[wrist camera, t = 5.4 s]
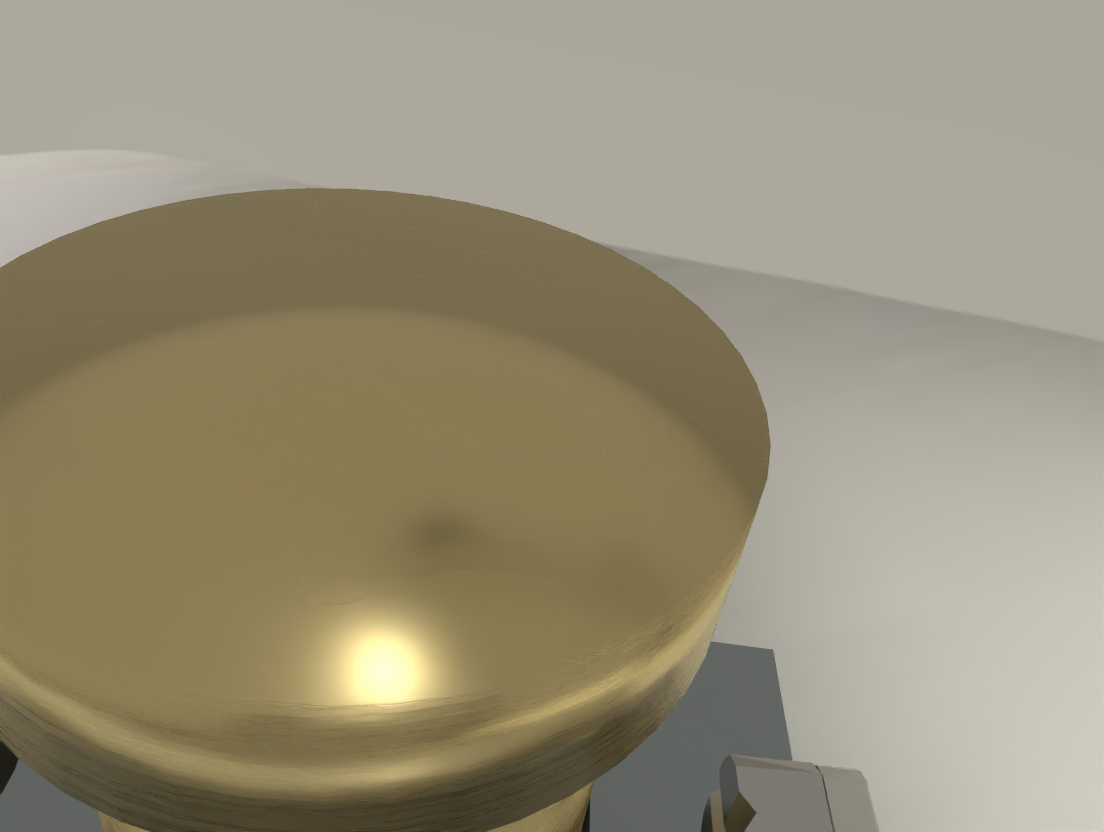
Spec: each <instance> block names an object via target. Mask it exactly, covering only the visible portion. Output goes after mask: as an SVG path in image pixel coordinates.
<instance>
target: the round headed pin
mask: <svg viewBox="0 0 1104 832" xmlns="http://www.w3.org/2000/svg"><path fill="white" fill-rule="evenodd" d="M769 455H770V437H769V429H768V420H767V413H766V410H765V407H764V404H763V401H762V398H761V395H760V392H759V389H758V386H757V384H756V382H755V380H754V378H753V376H752V374H751V373H750V371H749V369H748V367H747V365H746V363H745V362H744V360H743V358H742V356H741V355H740V353H739V352H738V351H737V350H736V348H735V347H734V346H733V344H732V343H731V342H730V340H729V339H728V338H727V336H726V335H725V334H724V333H723V331H722V330H721V329H720V328H719V327H718V326H717V325H716V324H715V323H714V322H713V321H712V320H711V319H710V318H709V317H708V316H707V315H706V314H705V313H704V312H703V311H702V310H701V309H700V308H699V307H698V306H697V305H695V304H694V303H693V302H692V301H690V300H689V299H688V298H687V297H685V296H684V295H683V294H682V293H680V292H679V291H678V290H677V289H675V288H674V287H673V286H671V285H670V284H668V283H667V282H665V281H664V280H662V279H661V278H659V277H658V276H656V275H655V274H653V273H651V272H650V271H648V270H647V269H645V268H644V267H642V266H640V265H638V264H637V263H635V262H633V261H631V260H629V259H627V258H625V257H624V256H622V255H620V254H618V253H616V252H614V251H612V250H610V249H608V248H606V247H604V246H601V245H599V244H597V243H595V242H592V241H590V240H588V239H586V238H583V237H581V236H579V235H576V234H573V233H571V232H568V231H565V230H562V229H559V228H557V227H554V226H551V225H549V224H546V223H543V222H540V221H536V220H533V219H530V218H526V217H523V216H520V215H516V214H513V213H509V212H506V211H501V210H497V209H492V208H489V207H484V206H480V205H475V204H470V203H466V202H461V201H455V200H449V199H443V198H437V197H432V196H423V195H415V194H407V193H397V192H388V191H374V190H357V189H286V190H265V191H255V192H245V193H234V194H224V195H218V196H212V197H205V198H199V199H193V200H186V201H181V202H176V203H172V204H167V205H163V206H158V207H154V208H149V209H145V210H140V211H137V212H133V213H130V214H127V215H123V216H120V217H116V218H113V219H109V220H106V221H103V222H99V223H97V224H94V225H91V226H89V227H86V228H83V229H81V230H78V231H75V232H73V233H70V234H67V235H65V236H62V237H59V238H57V239H55V240H53V241H51V242H49V243H47V244H44V245H42V246H40V247H38V248H36V249H34V250H32V251H30V252H27V253H25V254H23V255H21V256H19V257H18V258H16V259H14V260H13V261H11V262H9V263H8V264H6V265H4V266H3V267H1V268H0V740H1V741H2V742H3V743H4V744H5V745H6V746H7V747H8V748H9V749H10V750H11V751H12V752H13V753H14V754H15V755H16V757H17V758H18V759H19V760H20V761H22V762H23V763H24V764H26V765H27V766H28V767H30V768H31V769H32V770H34V771H35V772H37V773H38V774H39V775H41V776H42V777H43V778H45V779H46V780H47V781H49V782H50V783H52V784H53V785H54V786H56V787H57V788H58V789H60V790H61V791H62V792H64V793H65V794H67V795H69V796H71V797H73V798H75V799H77V800H79V801H81V802H83V803H84V804H86V805H88V806H90V807H92V808H94V809H96V810H97V811H98V814H99V818H100V821H101V825H102V829H103V832H581V828H582V824H583V821H584V817H585V814H586V810H587V806H588V803H589V799H590V795H591V792H592V788H593V785H594V781H595V780H596V779H597V778H599V777H600V776H602V775H603V774H605V773H606V772H608V771H609V770H611V769H612V768H614V767H615V766H617V765H618V764H619V763H620V762H622V761H623V760H624V759H625V758H626V757H627V756H628V755H629V754H630V753H632V752H633V751H634V750H635V749H636V748H637V747H638V746H639V745H640V744H641V743H643V742H644V741H645V740H646V739H647V738H648V737H649V736H650V735H651V734H653V733H654V732H655V731H656V730H657V729H658V727H659V726H660V725H661V724H662V722H663V721H664V720H665V719H666V717H667V716H668V715H669V714H670V712H671V711H672V710H673V709H674V707H675V706H676V705H677V704H678V702H679V701H680V700H681V699H682V697H683V696H684V695H685V693H686V691H687V690H688V688H689V686H690V684H691V682H692V681H693V679H694V677H695V675H696V673H697V672H698V670H699V668H700V666H701V664H702V663H703V661H704V659H705V657H706V654H707V651H708V648H709V645H710V642H711V639H712V637H713V634H714V631H715V628H716V625H717V622H718V619H719V616H720V614H721V611H722V608H723V605H724V602H725V599H726V596H727V594H728V591H729V588H730V585H731V582H732V579H733V576H734V574H735V571H736V568H737V565H738V562H739V559H740V556H741V553H742V551H743V548H744V545H745V542H746V539H747V536H748V533H749V531H750V528H751V525H752V522H753V519H754V516H755V513H756V510H757V507H758V504H759V501H760V498H761V496H762V493H763V490H764V487H765V484H766V481H767V475H768V465H769Z"/></svg>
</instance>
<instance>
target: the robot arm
mask: <svg viewBox="0 0 1104 832" xmlns="http://www.w3.org/2000/svg"><path fill="white" fill-rule="evenodd" d="M17 762H18V758H17V757H16V755H15V754H14V753H13V752H12V751H11V750H10V749H9V748H8V747H7V746H6V745H5V744H4V743H3V742H2V741H1V740H0V795H1V794H2V792H3V791H4V789H5V787H6V785H7V783H8V782H9V780H10V778H11V776H12V774H13V772H14V771H15V768H16V765H17ZM719 780H720V789H718V790H716V791H714V792H712V793H710V795H709V797H708V800H707V803H706V806H705V809H704V812H703V819H702V826H701V832H879V828H878V824H877V820H876V816H875V812H874V808H873V804H872V800H871V796H870V792H869V788H868V784H867V780H866V779H865V777H864V776H863V775H862V773H861V772H860V771H858V770H856V769H850V768H840V767H831V766H821V765H813V763H807V762H797V761H788V760H778V759H769V758H759V757H750V756H740V755H731V754H730V755H728V756H727V757H726V758H724V760H723V763H722V765H721V767H720V770H719Z"/></svg>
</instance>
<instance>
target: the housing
mask: <svg viewBox="0 0 1104 832" xmlns="http://www.w3.org/2000/svg"><path fill="white" fill-rule="evenodd" d="M730 754H731V755H740V756H750V757H759V758H769V759H778V760H788V761H792V756H791V750H790V744H789V738H788V733H787V727H786V721H785V716H784V710H783V704H782V699H781V693H780V687H779V682H778V676H777V670H776V664H775V659H774V653H773V650H771V649H763V648H756V647H748V646H740V645H732V644H725V643H717V642H710V645H709V648H708V651H707V654H706V657H705V659H704V661H703V663H702V664H701V666H700V668H699V670H698V672H697V673H696V675H695V677H694V679H693V681H692V682H691V684H690V686H689V688H688V690H687V691H686V693H685V695H684V696H683V697H682V699H681V700H680V701H679V702H678V704H677V705H676V706H675V707H674V709H673V710H672V711H671V712H670V714H669V715H668V716H667V717H666V719H665V720H664V721H663V722H662V724H661V725H660V726H659V727H658V729H657V730H656V731H655V732H654V733H653V734H651V735H650V736H649V737H648V738H647V739H646V740H645V741H644V742H643V743H641V744H640V745H639V746H638V747H637V748H636V749H635V750H634V751H633V752H632V753H630V754H629V755H628V756H627V757H626V758H625V759H624V760H623V761H622V762H620V763H619V764H618V765H617V766H615V767H614V768H612V769H611V770H609V771H608V772H606V773H605V774H603V775H602V776H600V777H599V778H597V779H596V780H595V781H594V785H593V788H592V792H591V795H590V799H589V803H588V806H587V810H586V814H585V817H584V821H583V824H582V828H581V832H701V826H702V819H703V812H704V809H705V806H706V803H707V800H708V797H709V795H710V793H712V792H714V791H716V790H718V789H720V780H719V770H720V767H721V765H722V763H723V760H724V758H726V757H727V756H728V755H730ZM0 832H103V829H102V825H101V821H100V818H99V814H98V811H97V810H96V809H94V808H92V807H90V806H88V805H86V804H84V803H83V802H81V801H79V800H77V799H75V798H73V797H71V796H69V795H67V794H65V793H64V792H62V791H61V790H60V789H58V788H57V787H56V786H54V785H53V784H52V783H50V782H49V781H47V780H46V779H45V778H43V777H42V776H41V775H39V774H38V773H37V772H35V771H34V770H32V769H31V768H30V767H28V766H27V765H26V764H24V763H23V762H22V761H20V760H19V759H18V762H17V765H16V768H15V771H14V772H13V774H12V776H11V778H10V780H9V782H8V783H7V785H6V787H5V789H4V791H3V792H2V794H1V795H0Z"/></svg>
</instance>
